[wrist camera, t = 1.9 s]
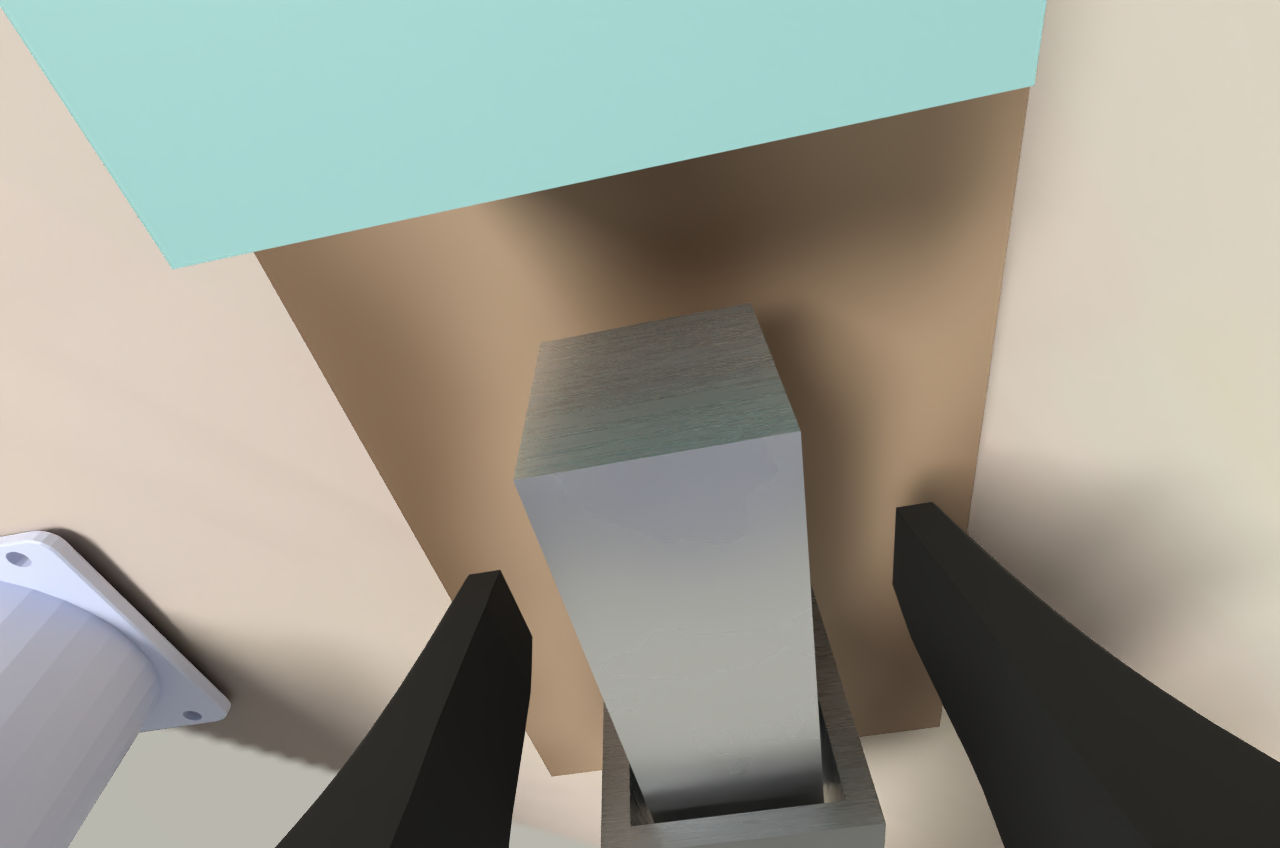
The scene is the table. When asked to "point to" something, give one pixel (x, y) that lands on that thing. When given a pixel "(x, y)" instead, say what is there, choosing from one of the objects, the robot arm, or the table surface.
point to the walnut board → (674, 286)
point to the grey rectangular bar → (682, 554)
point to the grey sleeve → (770, 839)
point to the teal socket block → (474, 95)
